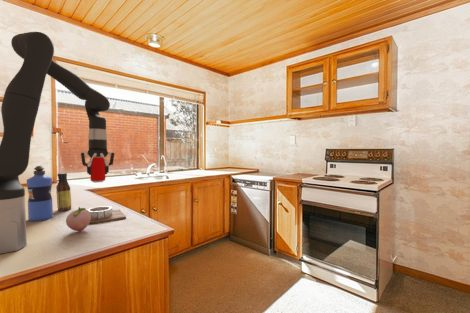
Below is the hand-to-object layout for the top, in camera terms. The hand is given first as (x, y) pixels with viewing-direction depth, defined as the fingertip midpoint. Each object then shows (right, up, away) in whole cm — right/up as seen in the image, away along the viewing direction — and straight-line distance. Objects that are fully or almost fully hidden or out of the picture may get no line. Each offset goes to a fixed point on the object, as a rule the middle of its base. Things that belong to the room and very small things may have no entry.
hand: (98, 174), depth 113 cm
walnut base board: (0, -21, +1) cm, 21 cm away
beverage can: (0, -4, 0) cm, 4 cm away
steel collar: (0, -21, +1) cm, 21 cm away
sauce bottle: (-28, -21, +16) cm, 38 cm away
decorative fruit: (+2, -22, -17) cm, 28 cm away
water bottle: (-28, -21, +1) cm, 35 cm away
